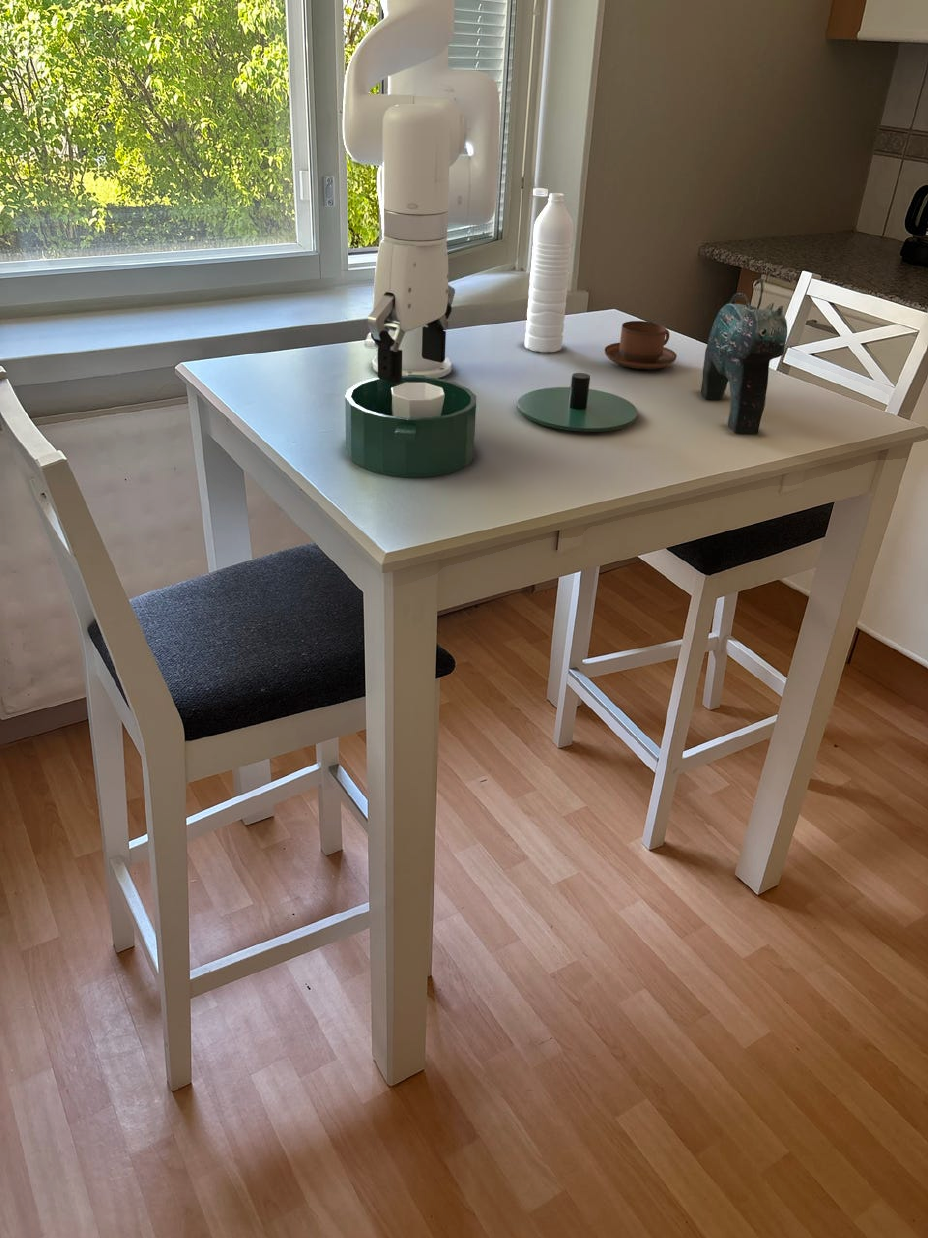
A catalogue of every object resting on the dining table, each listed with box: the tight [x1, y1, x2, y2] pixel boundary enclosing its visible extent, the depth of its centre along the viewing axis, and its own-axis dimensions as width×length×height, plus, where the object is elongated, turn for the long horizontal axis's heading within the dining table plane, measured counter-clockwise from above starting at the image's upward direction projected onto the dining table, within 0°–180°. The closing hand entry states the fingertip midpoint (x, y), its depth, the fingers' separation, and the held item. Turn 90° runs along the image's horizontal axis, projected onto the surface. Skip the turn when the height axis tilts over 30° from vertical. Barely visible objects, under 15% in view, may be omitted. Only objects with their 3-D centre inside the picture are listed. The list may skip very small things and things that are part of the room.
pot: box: [344, 374, 477, 478], centre depth 126 cm, size 16×22×8 cm
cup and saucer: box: [604, 320, 678, 370], centre depth 164 cm, size 12×12×6 cm
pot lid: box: [517, 372, 639, 433], centre depth 141 cm, size 17×17×6 cm
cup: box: [391, 383, 445, 418], centre depth 125 cm, size 7×10×8 cm
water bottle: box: [524, 187, 574, 354], centre depth 165 cm, size 9×6×25 cm
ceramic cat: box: [700, 278, 788, 435], centre depth 141 cm, size 20×6×20 cm, turn 5°
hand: (412, 369), depth 122 cm, fingers open, 9 cm apart
